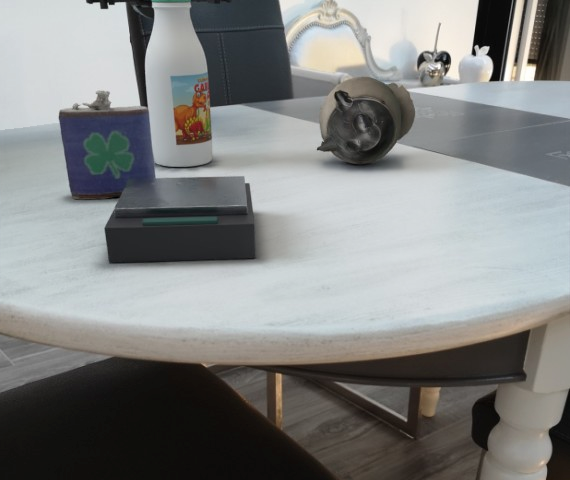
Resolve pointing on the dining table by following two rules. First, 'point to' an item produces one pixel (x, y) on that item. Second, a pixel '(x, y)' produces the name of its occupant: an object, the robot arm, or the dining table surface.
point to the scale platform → (182, 197)
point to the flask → (105, 147)
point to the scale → (181, 237)
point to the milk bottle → (177, 88)
